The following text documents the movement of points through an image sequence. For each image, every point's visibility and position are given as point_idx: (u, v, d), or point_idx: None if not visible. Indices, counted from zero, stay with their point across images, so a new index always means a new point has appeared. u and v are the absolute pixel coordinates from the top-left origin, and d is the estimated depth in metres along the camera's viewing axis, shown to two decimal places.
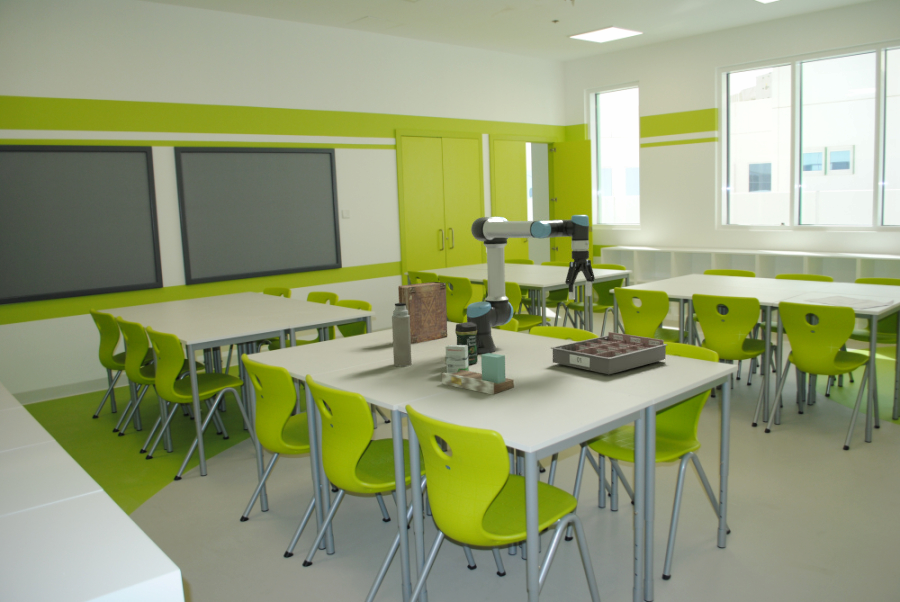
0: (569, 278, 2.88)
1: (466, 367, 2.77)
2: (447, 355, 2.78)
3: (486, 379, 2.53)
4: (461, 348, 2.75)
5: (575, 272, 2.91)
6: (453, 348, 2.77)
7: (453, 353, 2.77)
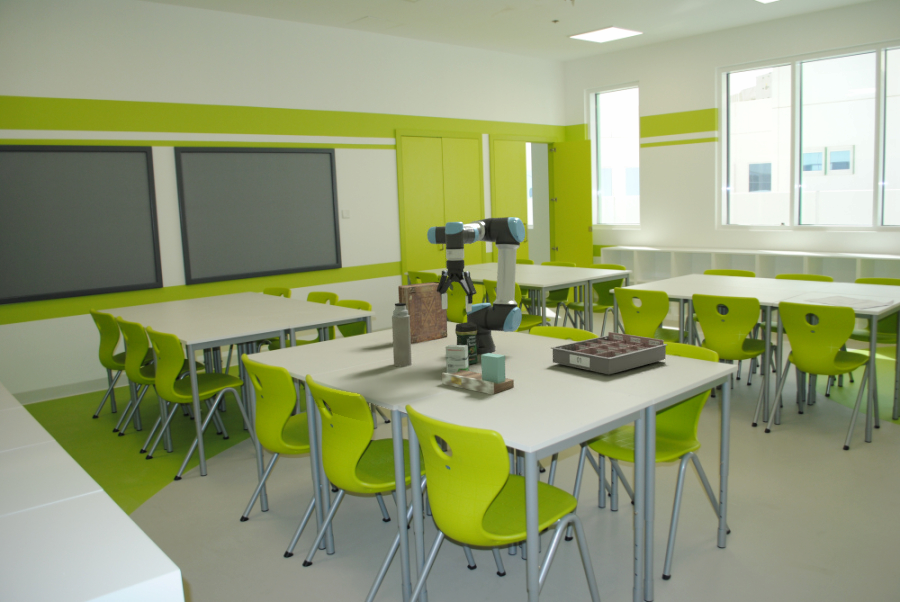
0: None
1: (466, 367, 2.77)
2: (447, 355, 2.78)
3: (486, 379, 2.53)
4: (461, 348, 2.75)
5: None
6: (453, 348, 2.77)
7: (453, 353, 2.77)
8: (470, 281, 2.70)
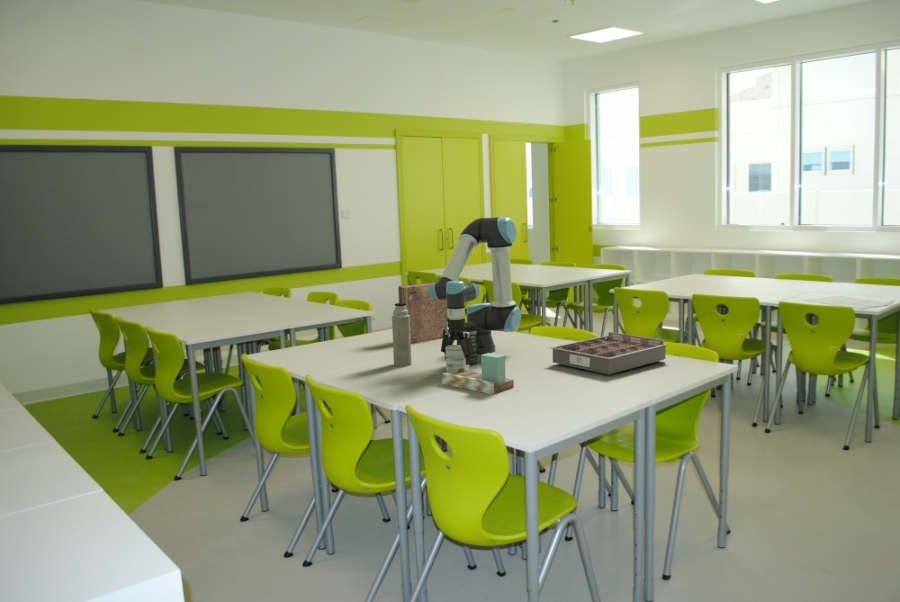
0: None
1: None
2: (447, 355, 2.78)
3: (486, 379, 2.53)
4: (461, 348, 2.75)
5: None
6: (453, 348, 2.77)
7: (453, 353, 2.77)
8: (469, 342, 2.73)
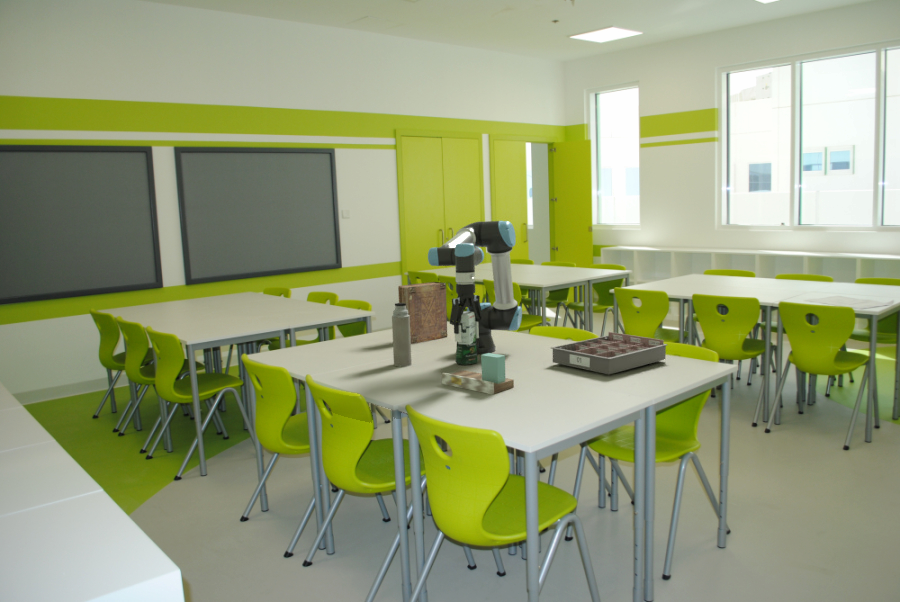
0: (453, 318, 2.53)
1: None
2: (469, 323, 2.55)
3: (486, 379, 2.53)
4: None
5: (460, 310, 2.55)
6: (471, 315, 2.57)
7: (471, 320, 2.58)
8: None
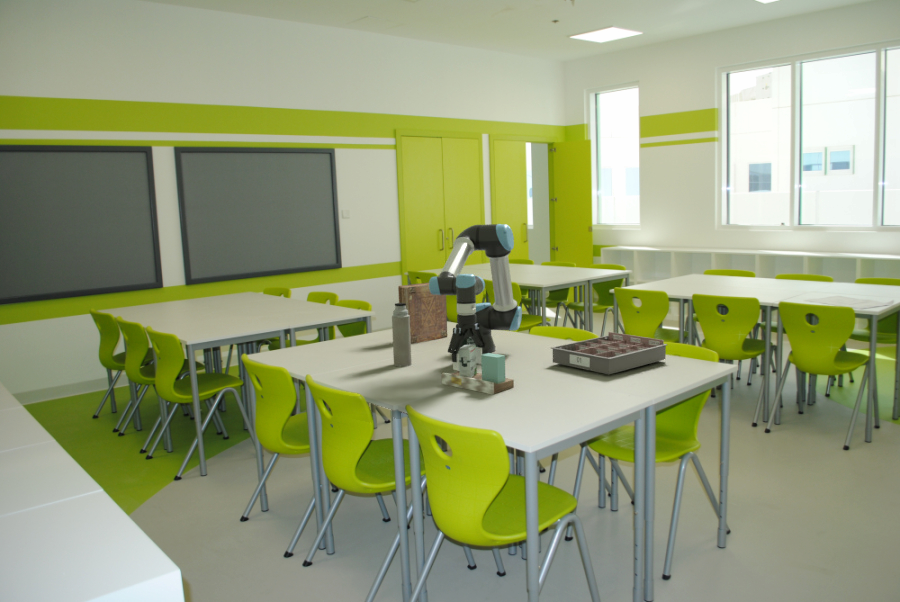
0: (452, 347, 2.53)
1: None
2: (470, 358, 2.57)
3: (486, 379, 2.53)
4: (474, 346, 2.62)
5: (460, 339, 2.56)
6: (472, 349, 2.59)
7: (472, 354, 2.60)
8: None
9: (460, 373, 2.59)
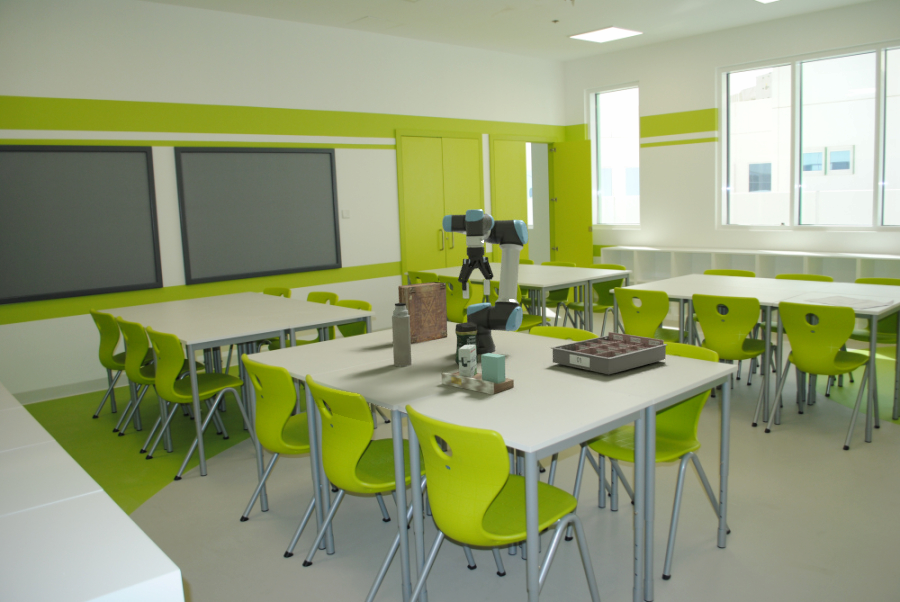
0: (462, 276, 2.73)
1: None
2: (470, 358, 2.57)
3: (486, 379, 2.53)
4: (475, 347, 2.62)
5: (469, 269, 2.76)
6: (472, 349, 2.59)
7: (472, 354, 2.60)
8: None
9: (460, 373, 2.59)
